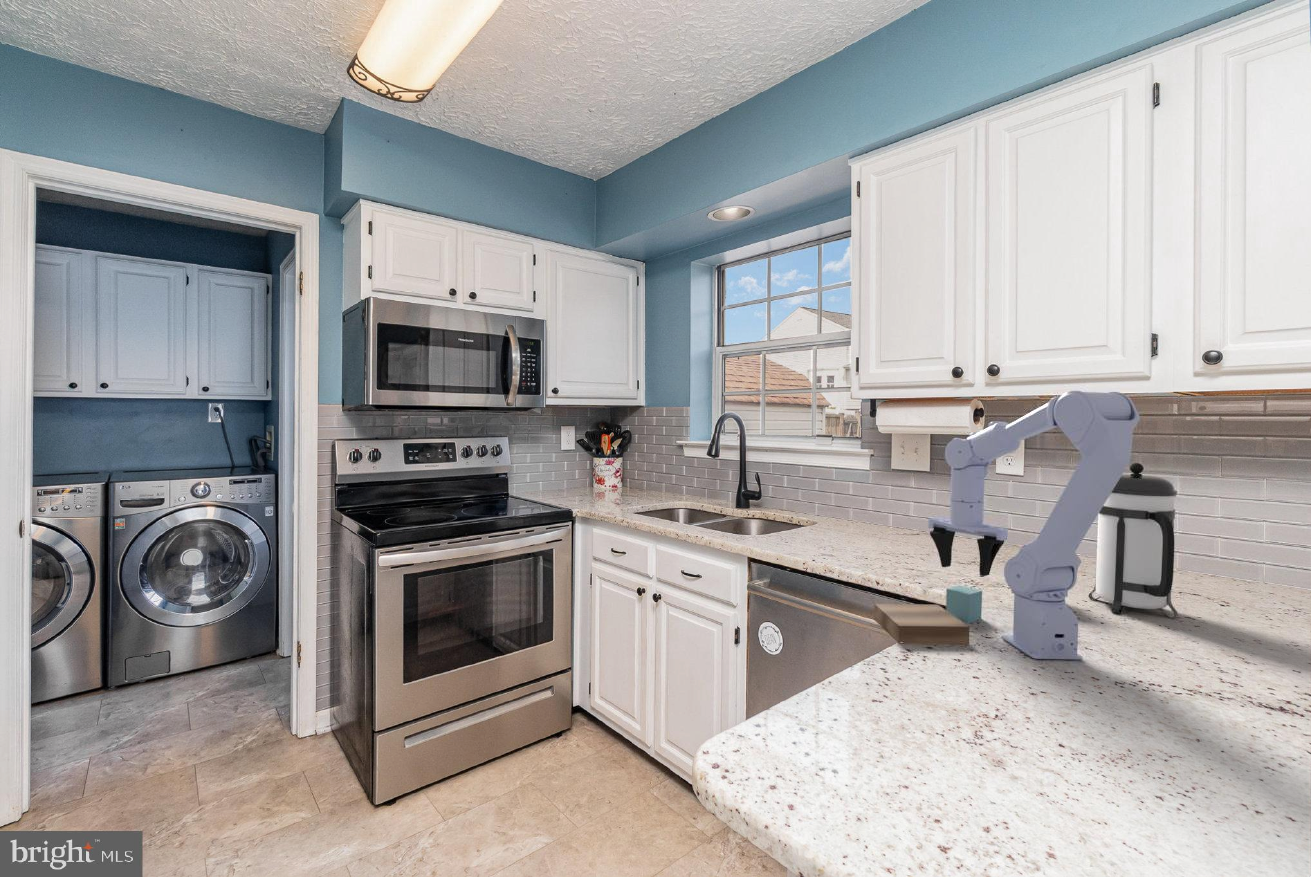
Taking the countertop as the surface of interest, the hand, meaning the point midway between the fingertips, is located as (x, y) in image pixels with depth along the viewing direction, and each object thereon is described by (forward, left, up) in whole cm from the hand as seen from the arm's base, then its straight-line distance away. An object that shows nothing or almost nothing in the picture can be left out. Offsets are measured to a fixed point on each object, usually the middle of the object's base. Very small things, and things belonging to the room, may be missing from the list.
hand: (964, 570), depth 116 cm
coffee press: (+6, -38, -9) cm, 40 cm away
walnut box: (-8, +12, -10) cm, 17 cm away
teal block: (0, 0, -9) cm, 9 cm away
